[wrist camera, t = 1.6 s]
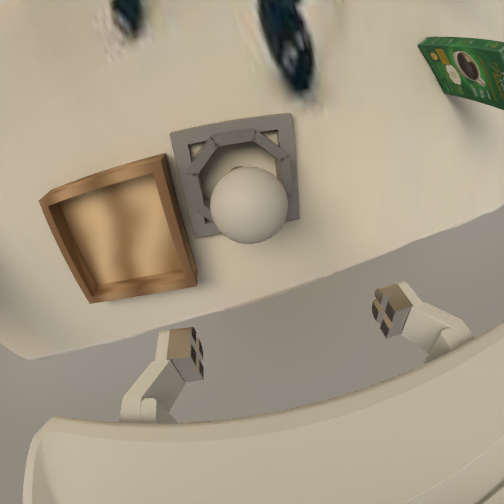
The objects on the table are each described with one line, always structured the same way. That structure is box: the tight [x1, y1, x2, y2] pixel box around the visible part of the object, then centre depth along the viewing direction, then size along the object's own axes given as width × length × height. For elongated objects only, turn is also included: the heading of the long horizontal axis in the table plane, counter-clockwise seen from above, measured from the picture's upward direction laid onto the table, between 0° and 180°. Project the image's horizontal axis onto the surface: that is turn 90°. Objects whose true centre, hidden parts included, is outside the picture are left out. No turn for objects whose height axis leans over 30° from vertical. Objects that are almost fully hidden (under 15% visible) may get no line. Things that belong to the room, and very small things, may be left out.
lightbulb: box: [210, 166, 288, 244], centre depth 24 cm, size 6×6×11 cm
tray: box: [39, 154, 197, 304], centre depth 28 cm, size 15×15×3 cm
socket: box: [170, 113, 299, 238], centre depth 27 cm, size 12×12×2 cm
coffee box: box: [418, 37, 504, 110], centre depth 17 cm, size 8×3×13 cm, turn 45°
